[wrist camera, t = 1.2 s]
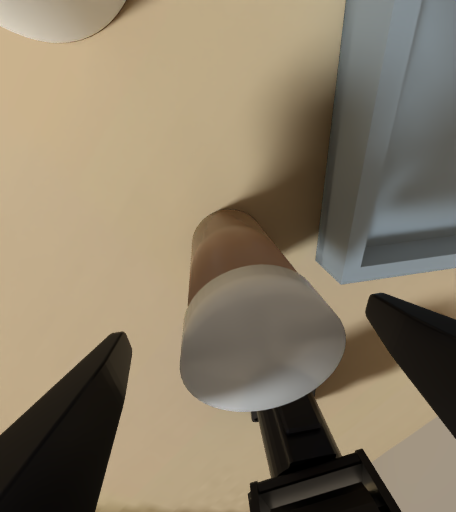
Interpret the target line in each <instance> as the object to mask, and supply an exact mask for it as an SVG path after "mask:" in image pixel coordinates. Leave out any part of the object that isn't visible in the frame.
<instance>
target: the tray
mask: <svg viewBox="0 0 456 512" xmlns="http://www.w3.org/2000/svg"><path fill="white" fill-rule="evenodd" d="M315 261H317V262H318V263H319V264H320V265H321V266H322V267H323V268H324V269H325V270H326V271H327V272H328V273H329V274H330V275H331V276H332V277H333V278H334V279H335V280H336V281H338V282H339V283H340V284H348V283H355V282H362V281H368V280H375V279H382V278H389V277H396V276H403V275H410V274H417V273H424V272H431V271H437V270H444V269H451V268H456V0H346V5H345V14H344V22H343V31H342V39H341V48H340V56H339V65H338V73H337V82H336V90H335V99H334V107H333V116H332V124H331V133H330V141H329V150H328V158H327V167H326V175H325V184H324V192H323V201H322V209H321V218H320V226H319V235H318V243H317V252H316V260H315Z"/></svg>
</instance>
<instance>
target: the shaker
mask: <svg viewBox="0 0 456 512" xmlns="http://www.w3.org/2000/svg"><path fill="white" fill-rule="evenodd" d="M345 344H346V334H345V330H344V327H343V325H342V322H341V320H340V319H339V318H338V316H337V315H336V314H335V312H334V311H333V310H332V309H331V308H330V306H329V305H328V304H327V303H326V302H325V300H324V299H323V298H322V297H321V296H320V294H319V293H318V292H317V291H316V290H315V288H314V287H313V286H312V285H311V284H310V282H309V281H307V280H306V279H305V278H304V277H303V276H301V275H300V274H298V272H297V271H296V270H295V269H294V267H293V266H292V265H291V264H290V263H289V261H288V260H287V259H286V258H285V256H284V255H283V254H282V253H281V251H280V250H279V249H278V248H277V246H276V245H275V244H274V243H273V241H272V240H271V239H270V238H269V236H268V235H267V234H266V233H265V231H264V230H263V229H262V228H261V226H260V225H259V224H258V223H257V221H256V220H255V219H254V218H253V217H251V216H250V215H248V214H247V213H245V212H242V211H239V210H232V209H228V210H220V211H217V212H214V213H212V214H210V215H209V216H207V217H206V218H205V219H204V220H202V222H201V223H200V224H199V225H198V227H197V228H196V230H195V232H194V235H193V239H192V252H191V266H190V281H189V295H188V308H187V310H186V313H185V317H184V323H183V334H182V346H181V357H180V373H181V378H182V380H183V383H184V385H185V386H186V388H187V389H188V391H189V392H190V393H191V394H192V395H193V396H194V397H196V398H197V399H198V400H200V401H202V402H203V403H205V404H207V405H210V406H212V407H215V408H219V409H222V410H228V411H237V412H250V411H260V410H267V409H271V408H275V407H279V406H282V405H285V404H288V403H290V402H293V401H295V400H297V399H299V398H301V397H303V396H305V395H306V394H308V393H310V392H311V391H313V390H314V389H316V388H317V387H318V386H319V385H321V384H322V383H323V382H324V381H325V380H326V379H327V378H328V377H329V376H330V375H331V374H332V373H333V372H334V370H335V369H336V367H337V366H338V364H339V362H340V360H341V358H342V356H343V353H344V350H345Z"/></svg>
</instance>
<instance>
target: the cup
mask: <svg viewBox="0 0 456 512" xmlns="http://www.w3.org/2000/svg"><path fill="white" fill-rule="evenodd" d="M125 1H126V0H0V26H1V27H3V28H5V29H8V30H10V31H12V32H14V33H16V34H19V35H21V36H24V37H27V38H30V39H34V40H38V41H43V42H50V43H67V42H74V41H78V40H82V39H85V38H87V37H90V36H92V35H94V34H95V33H97V32H99V31H100V30H101V29H103V28H104V27H106V26H107V25H108V24H109V23H110V22H111V21H112V20H113V19H114V17H115V16H116V15H117V14H118V12H119V11H120V10H121V8H122V6H123V5H124V3H125Z"/></svg>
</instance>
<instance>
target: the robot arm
mask: <svg viewBox="0 0 456 512" xmlns="http://www.w3.org/2000/svg"><path fill="white" fill-rule="evenodd" d="M365 313H366V317H367V319H368V320H369V322H370V323H371V325H372V326H373V328H374V329H375V331H376V333H377V334H378V336H379V337H380V339H381V340H382V342H383V344H384V345H385V347H386V348H387V350H388V351H389V353H390V354H391V356H392V357H393V358H394V360H395V361H396V362H397V364H398V365H399V366H400V367H401V369H402V370H403V371H404V373H405V374H406V375H407V377H408V378H409V379H410V380H411V382H412V383H413V384H414V386H415V387H416V388H417V389H418V391H419V392H420V393H421V395H422V396H423V397H424V399H425V400H426V401H427V402H428V404H429V405H430V406H431V408H432V409H433V410H434V411H435V413H436V414H437V415H438V417H439V418H440V419H441V420H442V422H443V423H444V424H445V426H446V427H447V428H448V429H449V431H450V432H451V433H452V435H453V436H454V437H455V439H456V320H455V319H452V318H450V317H447V316H444V315H442V314H439V313H436V312H433V311H431V310H428V309H425V308H423V307H420V306H417V305H414V304H412V303H409V302H406V301H404V300H401V299H398V298H395V297H393V296H390V295H387V294H385V293H376V294H372V295H370V296H369V299H368V303H367V307H366V311H365ZM131 358H132V348H131V345H130V343H129V340H128V338H127V335H126V333H125V332H116V333H112V334H110V335H109V336H108V337H107V338H106V339H104V340H103V341H102V342H101V343H100V344H99V345H98V346H97V347H96V348H95V349H94V350H92V351H91V352H90V353H89V354H88V355H87V356H86V357H85V358H84V359H83V360H82V361H81V362H79V363H78V364H77V365H76V366H75V367H74V368H73V369H72V370H71V371H70V372H69V373H67V374H66V375H65V376H64V377H63V378H62V379H61V380H60V381H59V382H58V383H57V384H55V385H54V386H53V387H52V388H51V389H50V390H49V391H48V392H47V393H46V394H45V395H43V396H42V397H41V398H40V399H39V400H38V401H37V402H36V403H35V404H34V405H33V406H32V407H30V408H29V409H28V410H27V411H26V412H25V413H24V414H23V415H22V416H21V417H20V418H18V419H17V420H16V421H15V422H14V423H13V424H12V425H11V426H10V427H9V428H8V429H6V430H5V431H4V432H3V433H2V434H1V435H0V512H95V510H96V506H97V502H98V499H99V495H100V491H101V487H102V484H103V480H104V476H105V472H106V469H107V465H108V461H109V457H110V454H111V450H112V446H113V442H114V439H115V435H116V431H117V427H118V424H119V420H120V416H121V412H122V408H123V404H124V400H125V395H126V389H127V383H128V376H129V370H130V364H131ZM315 390H316V389H314V390H313V391H311V392H310V393H308V394H306V395H305V396H303V397H301V398H299V399H297V400H295V401H293V402H290V403H288V404H285V405H282V406H279V407H275V408H271V409H267V410H260V411H251V418H252V421H253V422H259V425H260V429H261V434H262V439H263V443H264V448H265V452H266V457H267V461H268V466H269V470H270V475H271V479H267V480H264V481H261V482H257V481H255V482H252V483H250V490H251V492H249V493H248V499H249V506H250V512H401V510H400V509H399V507H398V506H397V504H396V502H395V500H394V499H393V497H392V496H391V494H390V492H389V491H388V489H387V488H386V486H385V484H384V483H383V481H382V479H381V478H380V476H379V475H378V473H377V471H376V470H375V468H374V466H373V465H372V463H371V462H370V460H369V458H368V457H367V455H366V454H365V452H364V450H363V449H359V450H356V451H355V453H352V454H349V455H345V456H342V455H341V453H340V451H339V449H338V447H337V445H336V443H335V440H334V438H333V436H332V434H331V432H330V430H329V428H328V425H327V423H326V421H325V419H324V417H323V415H322V413H321V410H320V408H319V406H318V404H317V402H316V400H315V398H314V396H315Z"/></svg>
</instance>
